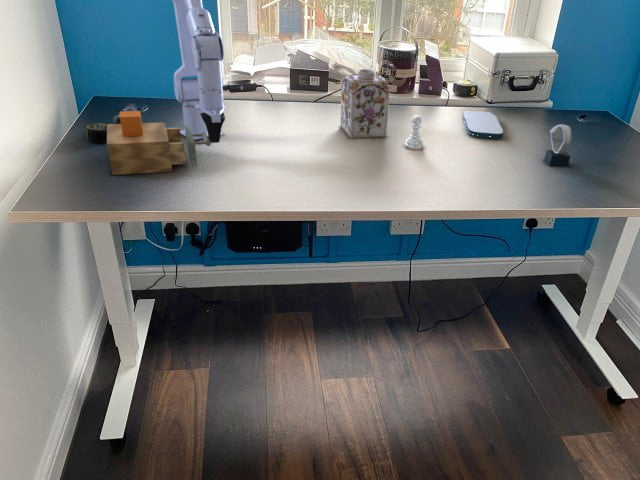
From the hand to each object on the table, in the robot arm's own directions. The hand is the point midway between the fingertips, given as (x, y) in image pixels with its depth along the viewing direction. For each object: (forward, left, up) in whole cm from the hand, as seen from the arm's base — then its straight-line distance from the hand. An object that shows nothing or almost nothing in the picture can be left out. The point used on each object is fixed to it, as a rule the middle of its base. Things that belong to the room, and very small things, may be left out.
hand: (214, 141), depth 154 cm
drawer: (+9, -4, -3) cm, 10 cm away
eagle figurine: (+9, -33, -5) cm, 34 cm away
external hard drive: (-85, +20, -5) cm, 88 cm away
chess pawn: (-52, +21, -5) cm, 57 cm away
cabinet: (+17, -7, -4) cm, 19 cm away
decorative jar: (-48, +3, -5) cm, 49 cm away
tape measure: (+18, -28, -5) cm, 33 cm away
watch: (-78, +53, -5) cm, 95 cm away
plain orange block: (+18, -7, +3) cm, 19 cm away
